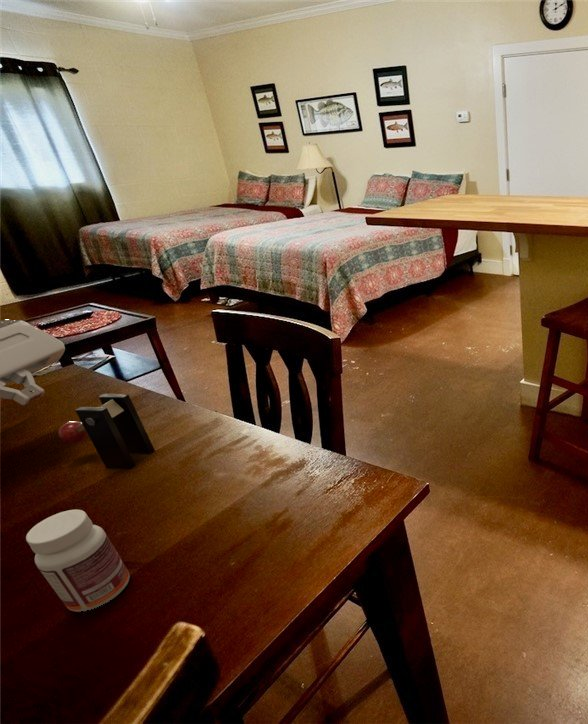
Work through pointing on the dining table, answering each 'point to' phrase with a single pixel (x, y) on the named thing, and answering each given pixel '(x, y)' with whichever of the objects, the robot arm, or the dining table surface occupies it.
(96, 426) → the bracket
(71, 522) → the pill bottle
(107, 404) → the lever
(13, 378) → the robot arm
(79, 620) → the dining table surface
